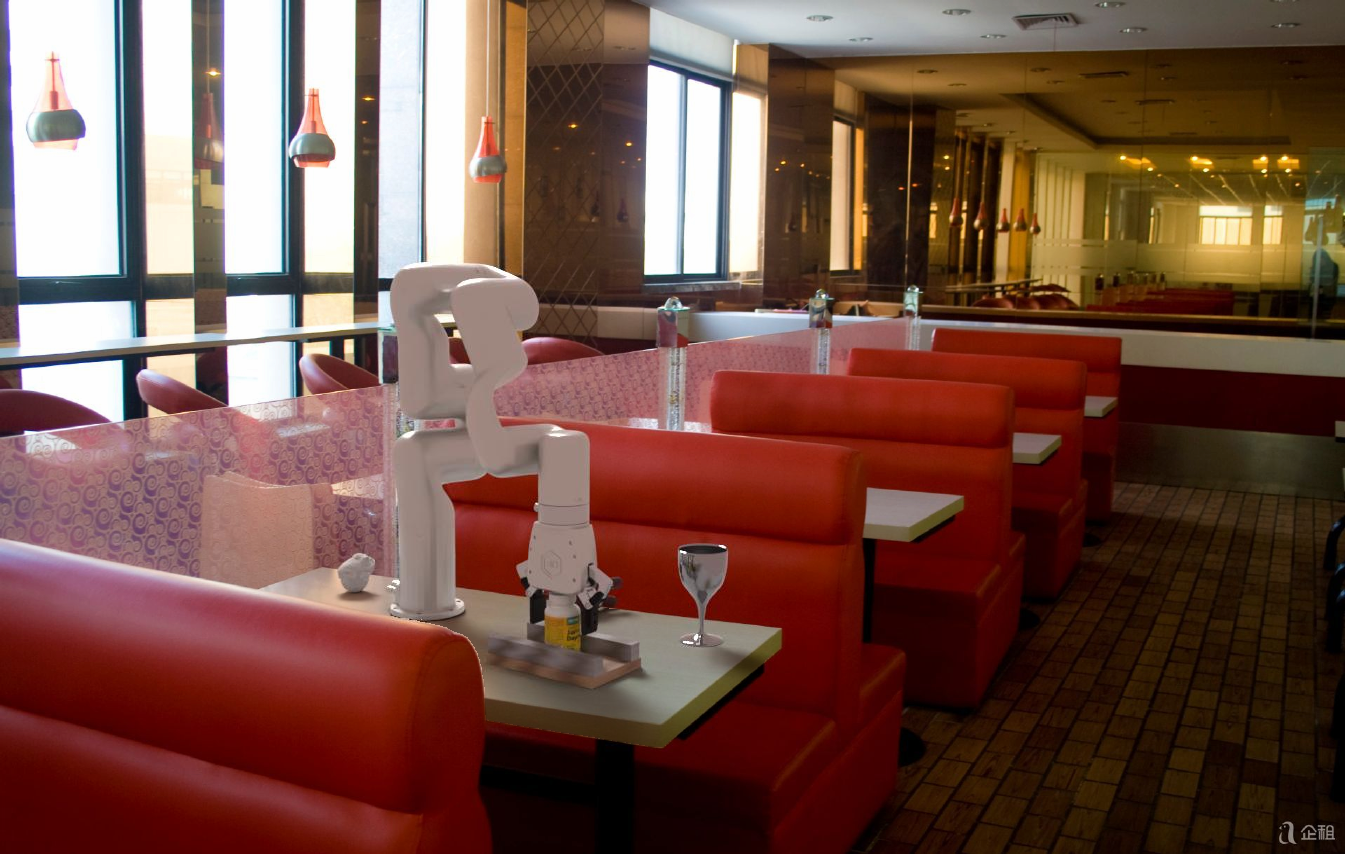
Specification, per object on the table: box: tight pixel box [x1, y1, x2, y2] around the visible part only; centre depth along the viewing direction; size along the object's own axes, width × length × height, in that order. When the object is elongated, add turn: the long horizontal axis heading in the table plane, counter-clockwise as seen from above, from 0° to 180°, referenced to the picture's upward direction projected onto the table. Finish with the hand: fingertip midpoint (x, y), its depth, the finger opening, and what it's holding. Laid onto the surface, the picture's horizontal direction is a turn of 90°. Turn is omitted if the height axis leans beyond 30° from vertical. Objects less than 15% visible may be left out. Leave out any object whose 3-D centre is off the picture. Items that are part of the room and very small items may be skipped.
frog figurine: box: [337, 552, 376, 593], centre depth 219 cm, size 6×7×7 cm
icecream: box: [545, 576, 624, 612], centre depth 207 cm, size 7×7×15 cm
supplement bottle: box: [544, 591, 581, 652], centre depth 179 cm, size 5×5×10 cm
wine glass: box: [677, 542, 729, 648], centre depth 192 cm, size 8×8×15 cm
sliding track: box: [485, 620, 642, 690], centre depth 179 cm, size 20×12×4 cm, turn 57°
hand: (563, 627), depth 178 cm, fingers open, 9 cm apart
